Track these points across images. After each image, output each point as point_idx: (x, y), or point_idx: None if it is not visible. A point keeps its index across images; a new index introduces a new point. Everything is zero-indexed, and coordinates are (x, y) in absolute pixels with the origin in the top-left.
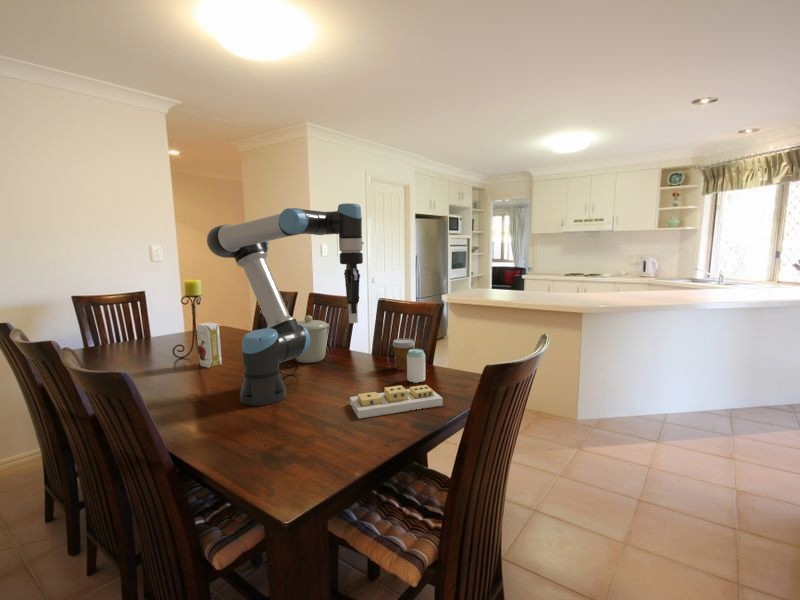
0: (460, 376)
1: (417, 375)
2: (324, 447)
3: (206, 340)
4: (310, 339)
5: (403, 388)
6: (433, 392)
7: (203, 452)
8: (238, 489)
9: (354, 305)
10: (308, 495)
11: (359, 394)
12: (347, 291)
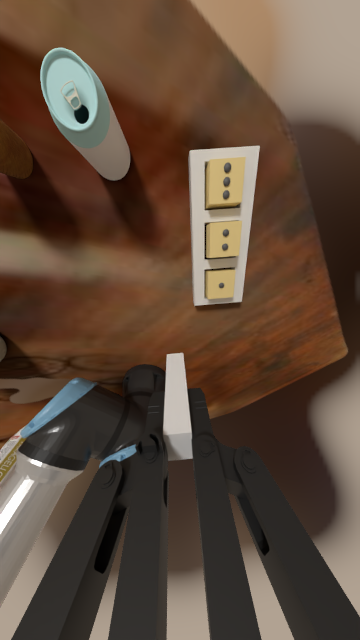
0: None
1: (126, 150)
2: (279, 333)
3: (11, 472)
4: None
5: (227, 224)
6: (226, 153)
7: (241, 400)
8: (299, 378)
9: (211, 433)
10: (333, 345)
11: (210, 297)
12: (96, 603)
